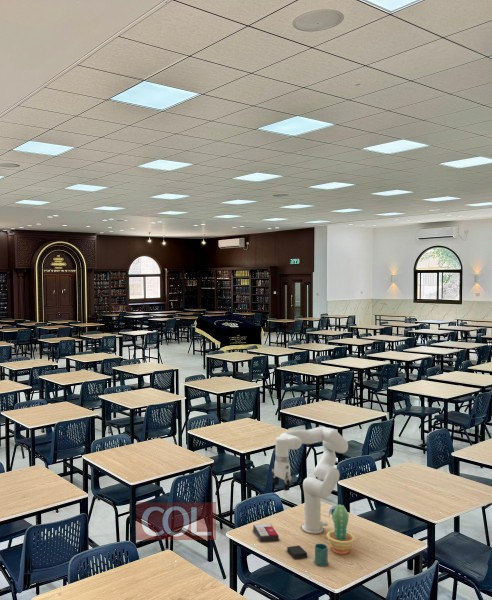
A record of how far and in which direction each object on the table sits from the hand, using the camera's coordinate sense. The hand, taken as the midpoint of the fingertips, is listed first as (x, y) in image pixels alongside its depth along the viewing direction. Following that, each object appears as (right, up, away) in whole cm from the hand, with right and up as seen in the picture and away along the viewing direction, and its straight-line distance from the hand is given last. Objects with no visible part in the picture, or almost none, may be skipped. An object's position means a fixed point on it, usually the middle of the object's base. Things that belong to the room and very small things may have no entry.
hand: (281, 487), depth 321 cm
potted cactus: (+31, -31, -12) cm, 46 cm away
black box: (+5, -31, -17) cm, 36 cm away
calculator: (-8, -31, +6) cm, 33 cm away
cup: (+16, -31, -26) cm, 44 cm away
